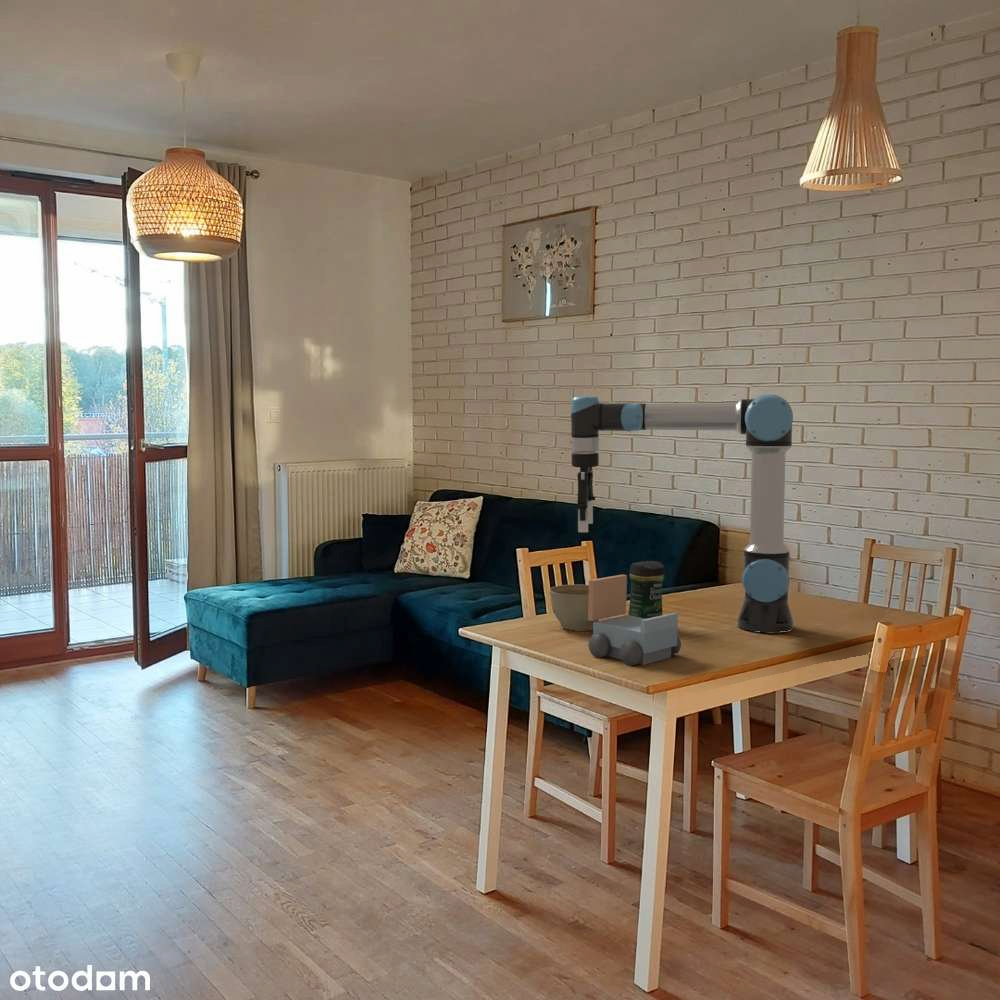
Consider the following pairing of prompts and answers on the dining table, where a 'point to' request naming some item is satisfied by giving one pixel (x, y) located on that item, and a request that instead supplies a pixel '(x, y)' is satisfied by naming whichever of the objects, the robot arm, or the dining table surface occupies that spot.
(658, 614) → the coffee jar
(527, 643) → the dining table surface
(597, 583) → the tailgate
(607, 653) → the flatbed
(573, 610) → the planter bowl
